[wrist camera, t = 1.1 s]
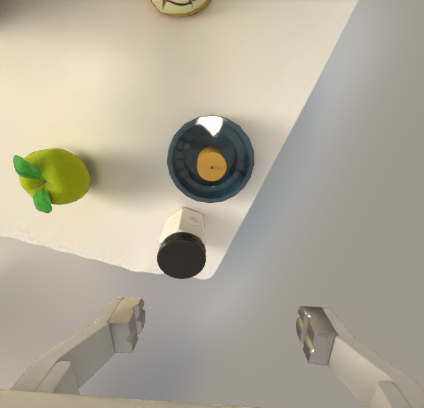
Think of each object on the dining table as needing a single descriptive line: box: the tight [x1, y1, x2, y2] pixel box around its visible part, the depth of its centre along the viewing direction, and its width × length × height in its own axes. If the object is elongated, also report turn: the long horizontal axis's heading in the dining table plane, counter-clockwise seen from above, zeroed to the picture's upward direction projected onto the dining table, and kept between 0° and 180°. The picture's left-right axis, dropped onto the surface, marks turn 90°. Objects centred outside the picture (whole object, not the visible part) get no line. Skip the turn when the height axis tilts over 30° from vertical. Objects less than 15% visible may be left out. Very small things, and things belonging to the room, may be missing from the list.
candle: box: [197, 146, 226, 181], centre depth 34 cm, size 5×5×8 cm
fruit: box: [13, 149, 90, 213], centre depth 34 cm, size 9×9×10 cm
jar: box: [157, 207, 206, 279], centre depth 39 cm, size 9×8×12 cm
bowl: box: [167, 116, 254, 203], centre depth 36 cm, size 15×15×5 cm
